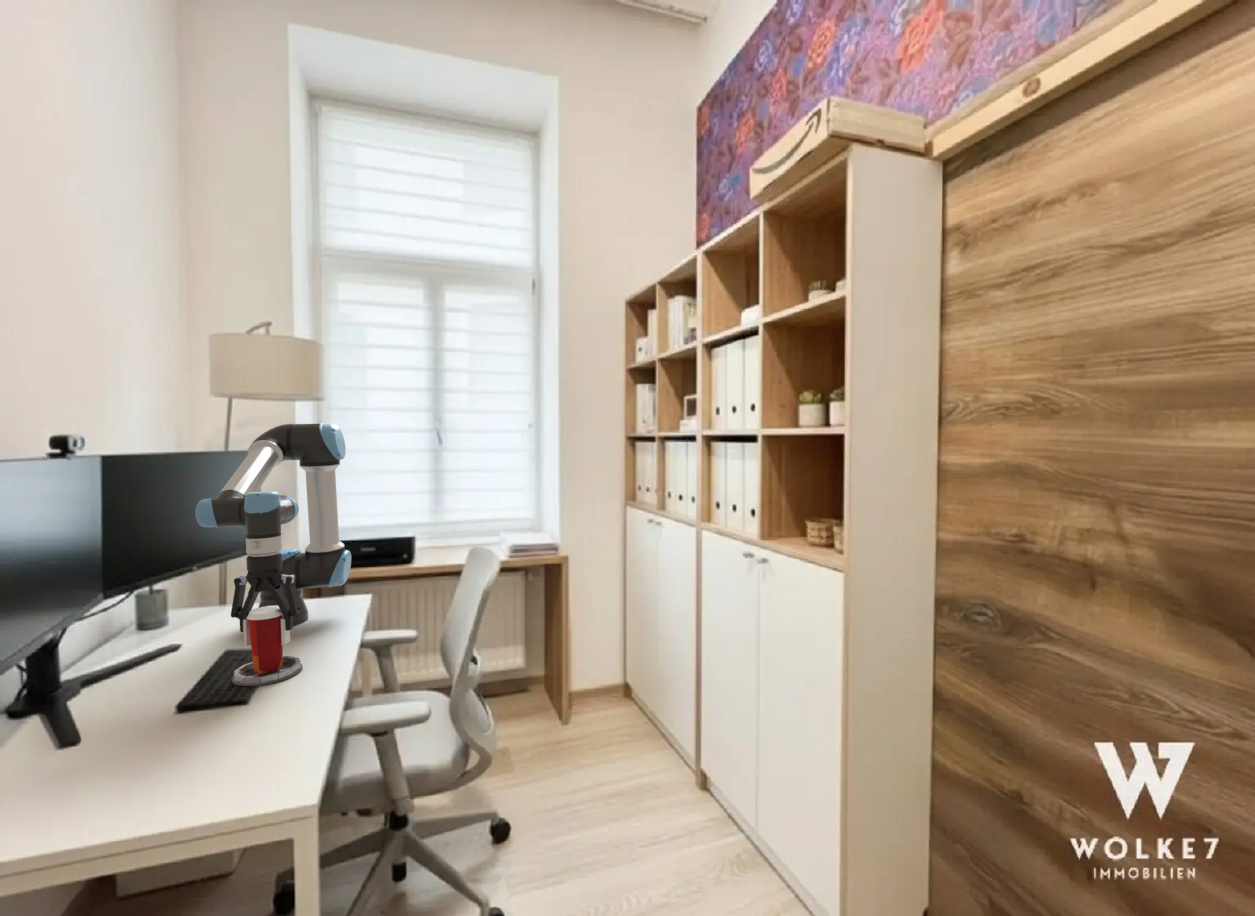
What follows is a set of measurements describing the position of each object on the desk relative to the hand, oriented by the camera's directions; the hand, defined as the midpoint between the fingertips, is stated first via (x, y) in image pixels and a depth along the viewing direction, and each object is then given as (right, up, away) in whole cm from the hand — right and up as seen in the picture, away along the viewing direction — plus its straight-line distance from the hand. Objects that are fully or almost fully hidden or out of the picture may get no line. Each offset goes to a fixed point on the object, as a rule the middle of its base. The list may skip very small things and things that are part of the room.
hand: (267, 643), depth 145 cm
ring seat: (0, -8, 0) cm, 8 cm away
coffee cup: (0, -7, 0) cm, 7 cm away
